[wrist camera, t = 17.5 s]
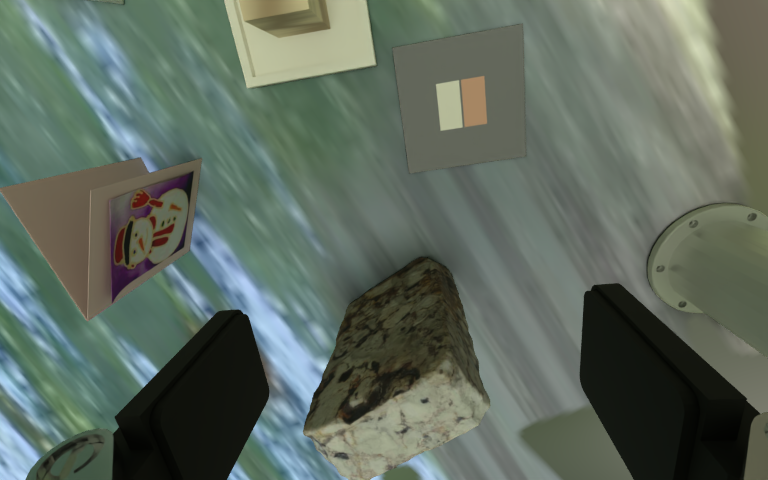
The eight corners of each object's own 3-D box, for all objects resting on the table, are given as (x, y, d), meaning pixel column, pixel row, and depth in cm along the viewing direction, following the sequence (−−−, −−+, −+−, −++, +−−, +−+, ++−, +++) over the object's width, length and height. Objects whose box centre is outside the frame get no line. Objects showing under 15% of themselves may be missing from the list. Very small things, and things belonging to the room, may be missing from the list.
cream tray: (352, -96, 31) (350, -105, 30) (376, 66, 36) (375, 64, 34) (213, -64, 33) (205, -71, 31) (253, 88, 37) (247, 87, 36)
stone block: (378, 340, 47) (358, 499, 28) (340, 303, 45) (293, 446, 27) (462, 280, 43) (503, 418, 25) (424, 237, 42) (437, 350, 23)
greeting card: (196, 253, 44) (98, 324, 30) (134, 233, 44) (6, 297, 30) (209, 161, 40) (103, 193, 26) (141, 138, 40) (-4, 160, 26)
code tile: (522, 24, 34) (523, 23, 33) (525, 156, 38) (526, 156, 38) (392, 48, 35) (392, 47, 35) (409, 173, 39) (409, 173, 39)
